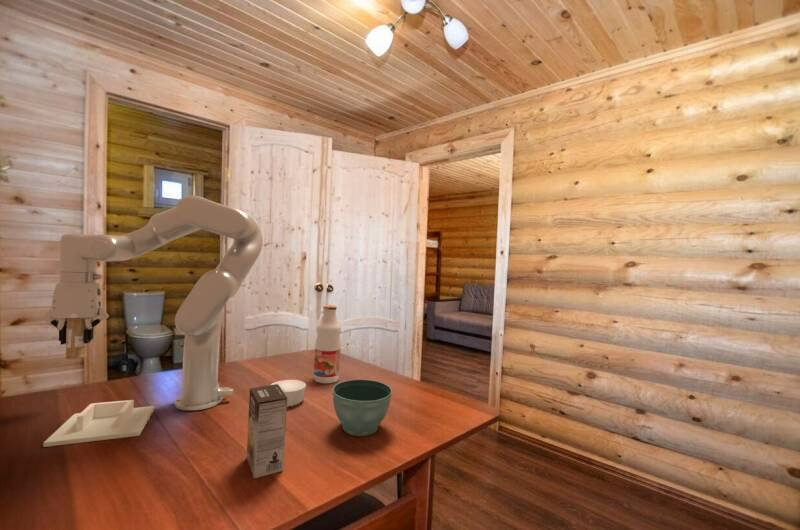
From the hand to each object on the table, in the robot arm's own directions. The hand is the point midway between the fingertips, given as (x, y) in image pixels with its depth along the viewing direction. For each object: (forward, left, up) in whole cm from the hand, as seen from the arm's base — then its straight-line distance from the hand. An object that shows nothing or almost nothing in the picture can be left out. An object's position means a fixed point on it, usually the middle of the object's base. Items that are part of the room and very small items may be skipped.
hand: (76, 342), depth 101 cm
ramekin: (-57, +11, -19) cm, 61 cm away
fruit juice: (-73, -6, -19) cm, 75 cm away
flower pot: (-74, +35, -19) cm, 84 cm away
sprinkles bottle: (0, 0, -5) cm, 5 cm away
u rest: (-12, +15, -19) cm, 27 cm away
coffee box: (-49, +45, -19) cm, 69 cm away
